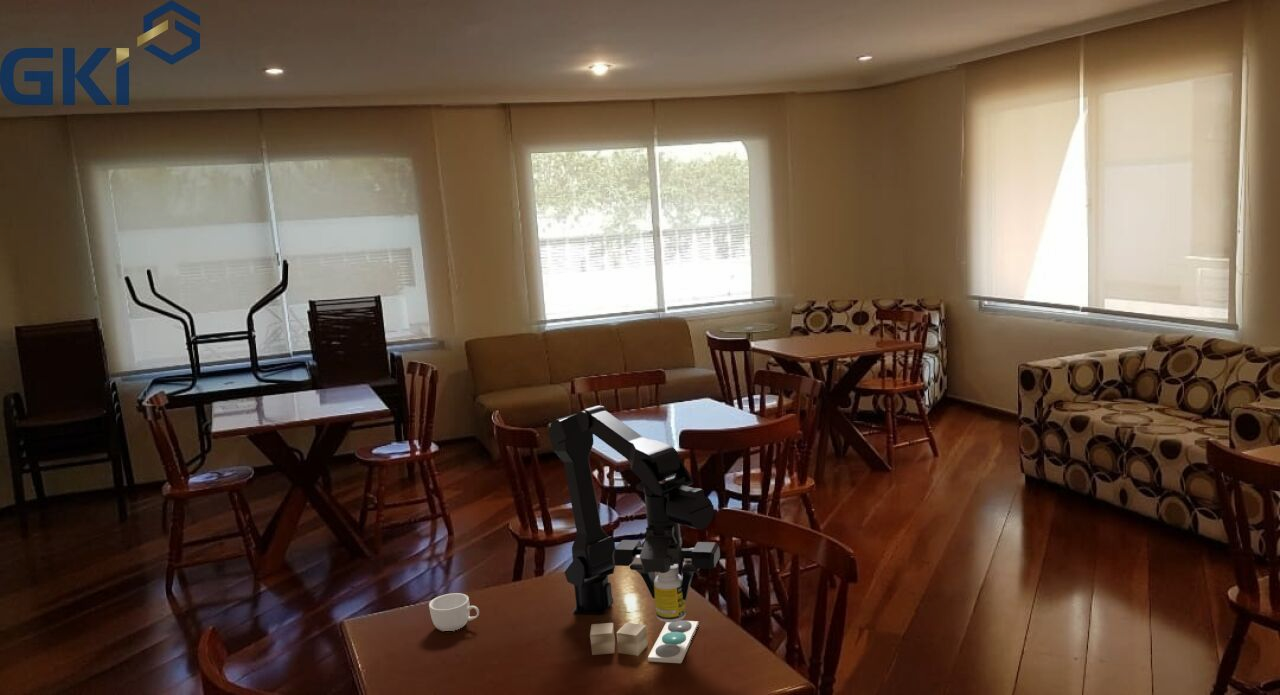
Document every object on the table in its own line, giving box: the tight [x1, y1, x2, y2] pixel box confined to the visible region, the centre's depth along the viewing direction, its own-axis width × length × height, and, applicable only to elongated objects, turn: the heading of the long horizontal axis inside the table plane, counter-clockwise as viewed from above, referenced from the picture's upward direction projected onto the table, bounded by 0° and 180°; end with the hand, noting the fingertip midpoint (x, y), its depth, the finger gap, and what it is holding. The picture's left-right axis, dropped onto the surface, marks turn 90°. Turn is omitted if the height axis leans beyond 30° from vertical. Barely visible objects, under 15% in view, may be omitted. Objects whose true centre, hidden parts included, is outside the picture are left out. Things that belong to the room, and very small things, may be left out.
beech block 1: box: [589, 622, 616, 656], centre depth 165 cm, size 4×4×4 cm
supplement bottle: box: [654, 564, 687, 623], centre depth 164 cm, size 5×5×10 cm
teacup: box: [428, 592, 480, 632], centre depth 179 cm, size 10×8×5 cm
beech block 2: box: [615, 622, 649, 657], centre depth 164 cm, size 4×4×4 cm
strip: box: [647, 619, 699, 664], centre depth 165 cm, size 6×14×1 cm, turn 163°
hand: (669, 598), depth 164 cm, fingers closed on supplement bottle, 5 cm apart
